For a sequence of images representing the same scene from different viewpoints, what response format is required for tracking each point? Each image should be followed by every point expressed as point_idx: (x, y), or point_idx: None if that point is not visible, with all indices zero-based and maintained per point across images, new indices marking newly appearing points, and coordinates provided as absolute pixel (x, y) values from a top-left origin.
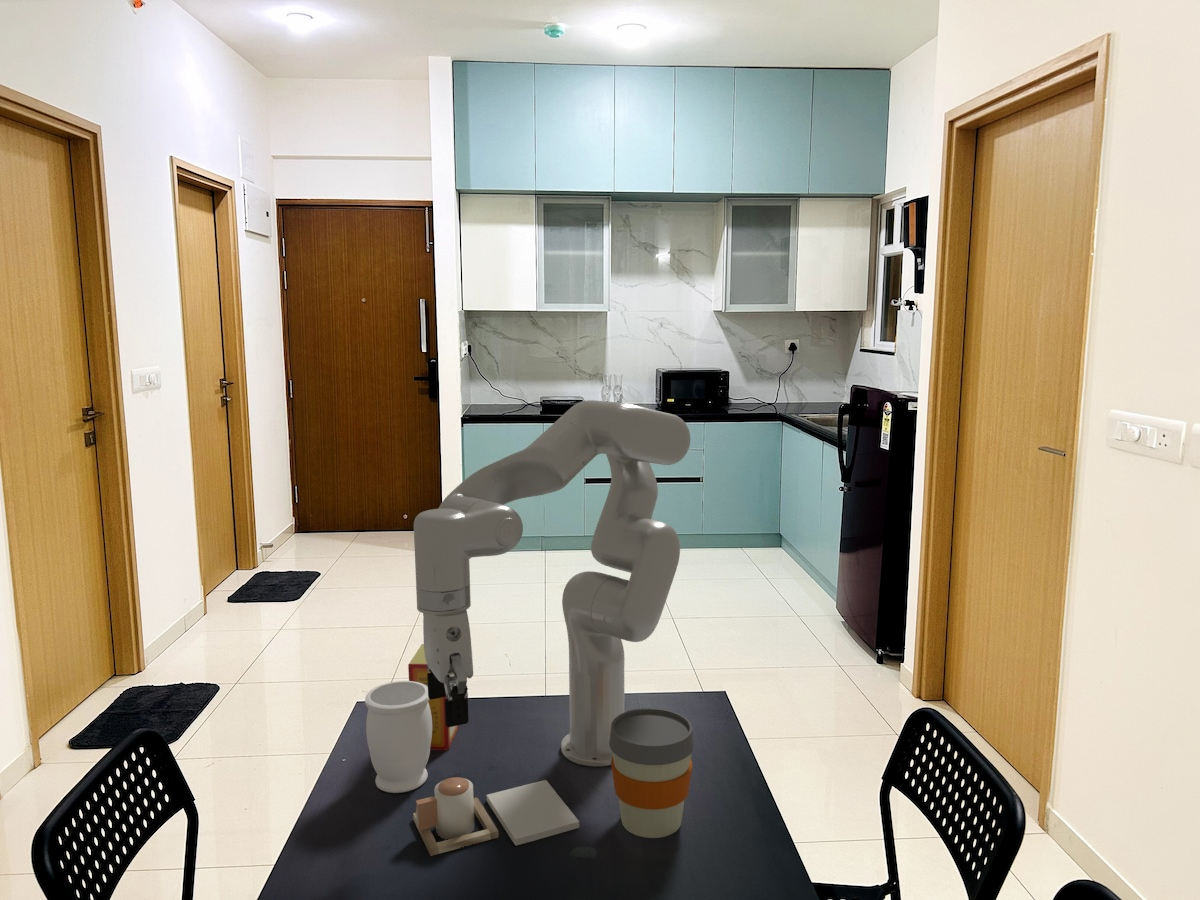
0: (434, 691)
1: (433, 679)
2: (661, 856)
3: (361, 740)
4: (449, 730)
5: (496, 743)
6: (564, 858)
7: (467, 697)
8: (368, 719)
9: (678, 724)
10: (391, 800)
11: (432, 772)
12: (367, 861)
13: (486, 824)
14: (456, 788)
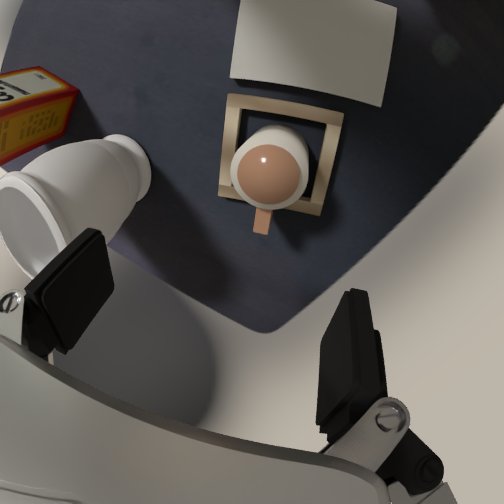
0: (98, 294)
1: (74, 329)
2: (495, 4)
3: None
4: (55, 90)
5: (92, 22)
6: (443, 77)
7: (403, 405)
8: None
9: None
10: (161, 197)
11: (118, 125)
12: (278, 270)
13: (314, 118)
14: (282, 177)
